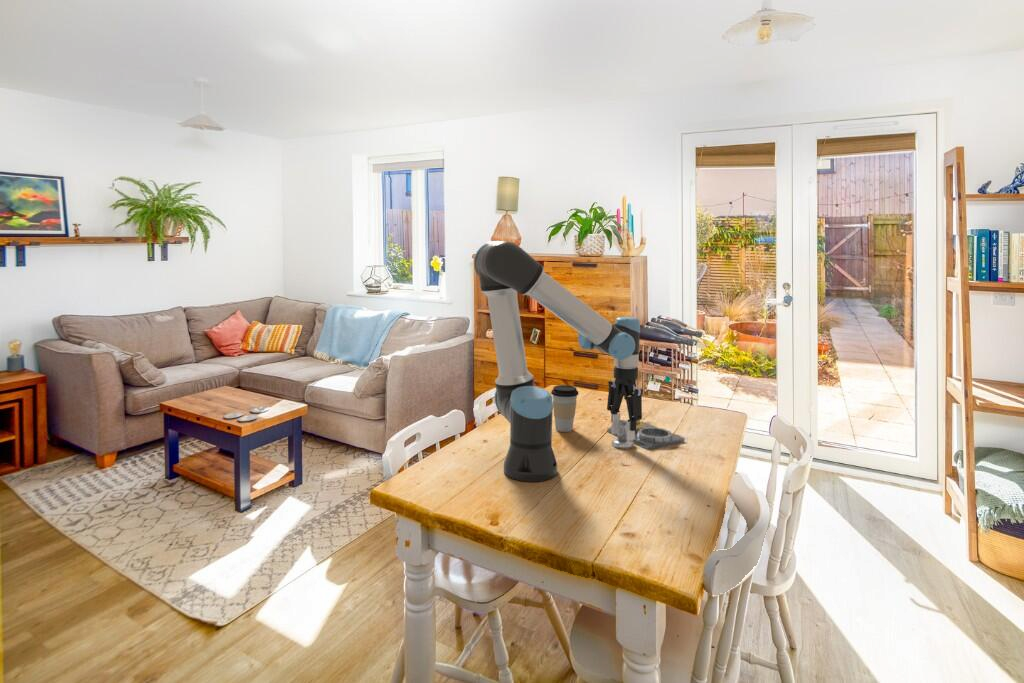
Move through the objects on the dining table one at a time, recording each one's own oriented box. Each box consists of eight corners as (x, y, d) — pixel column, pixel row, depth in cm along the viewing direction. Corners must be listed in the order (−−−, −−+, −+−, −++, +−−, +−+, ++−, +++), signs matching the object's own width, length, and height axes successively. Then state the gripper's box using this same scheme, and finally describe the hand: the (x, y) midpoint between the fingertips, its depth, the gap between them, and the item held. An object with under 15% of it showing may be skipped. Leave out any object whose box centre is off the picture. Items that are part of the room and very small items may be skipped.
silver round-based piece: (621, 450, 178) (622, 426, 177) (606, 443, 184) (607, 420, 183) (638, 446, 181) (639, 422, 180) (623, 440, 187) (624, 417, 186)
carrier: (648, 449, 179) (649, 435, 178) (607, 431, 196) (607, 418, 195) (684, 441, 187) (685, 427, 186) (642, 424, 204) (642, 411, 203)
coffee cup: (577, 425, 202) (578, 384, 199) (577, 434, 192) (578, 391, 190) (550, 424, 203) (551, 384, 200) (549, 433, 193) (550, 390, 191)
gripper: (657, 371, 172) (653, 443, 176) (615, 359, 188) (612, 426, 192) (638, 373, 168) (634, 447, 172) (597, 361, 185) (594, 429, 188)
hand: (622, 436), depth 182 cm, fingers open, 6 cm apart
